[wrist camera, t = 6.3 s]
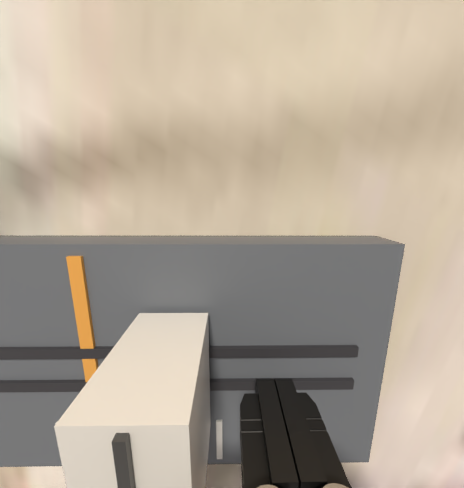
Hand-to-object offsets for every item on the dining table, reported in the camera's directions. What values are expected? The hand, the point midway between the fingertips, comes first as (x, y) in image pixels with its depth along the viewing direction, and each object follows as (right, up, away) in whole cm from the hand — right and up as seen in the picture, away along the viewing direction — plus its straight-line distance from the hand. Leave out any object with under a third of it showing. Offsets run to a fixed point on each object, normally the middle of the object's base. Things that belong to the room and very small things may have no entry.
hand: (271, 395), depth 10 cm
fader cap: (-4, 0, +1) cm, 4 cm away
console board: (-4, +1, +3) cm, 5 cm away
